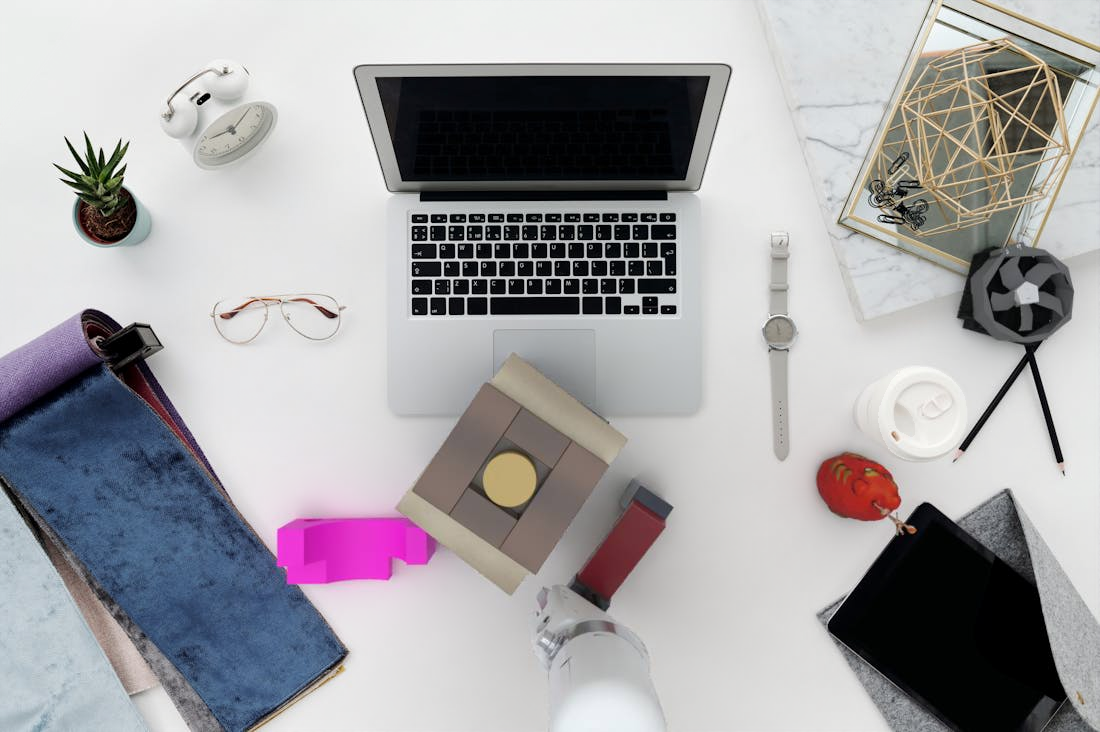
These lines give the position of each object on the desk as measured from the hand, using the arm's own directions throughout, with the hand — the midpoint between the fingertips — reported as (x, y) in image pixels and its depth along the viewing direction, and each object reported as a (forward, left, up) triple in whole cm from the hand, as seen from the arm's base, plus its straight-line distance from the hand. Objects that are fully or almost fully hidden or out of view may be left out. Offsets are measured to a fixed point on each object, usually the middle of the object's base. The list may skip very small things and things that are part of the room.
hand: (583, 604), depth 78 cm
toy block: (-9, +22, -8) cm, 25 cm away
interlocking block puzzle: (+9, +14, -8) cm, 18 cm away
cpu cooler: (+53, -21, -8) cm, 57 cm away
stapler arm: (+6, 0, -1) cm, 6 cm away
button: (+9, +14, +18) cm, 24 cm away
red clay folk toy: (+26, -18, -8) cm, 32 cm away
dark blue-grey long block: (+7, 0, -8) cm, 10 cm away
